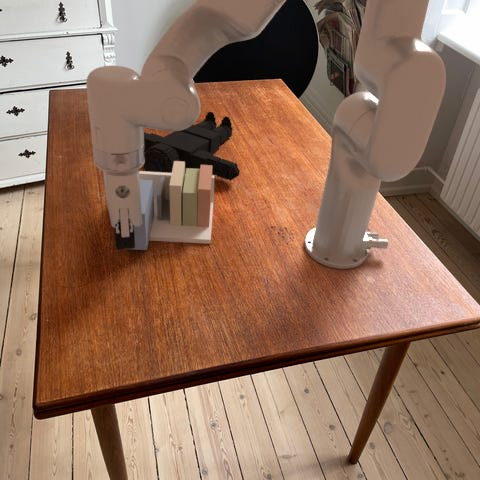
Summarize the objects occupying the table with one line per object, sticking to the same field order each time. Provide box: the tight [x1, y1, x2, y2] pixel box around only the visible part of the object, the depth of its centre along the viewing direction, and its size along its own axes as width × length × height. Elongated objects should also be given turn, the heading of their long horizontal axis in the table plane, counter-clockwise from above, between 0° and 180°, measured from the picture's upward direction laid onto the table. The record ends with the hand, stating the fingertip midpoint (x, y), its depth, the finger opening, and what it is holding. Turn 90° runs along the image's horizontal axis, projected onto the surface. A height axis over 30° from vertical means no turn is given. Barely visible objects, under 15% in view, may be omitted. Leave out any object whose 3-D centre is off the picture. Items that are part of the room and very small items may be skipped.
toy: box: [143, 111, 240, 181], centre depth 122 cm, size 33×8×30 cm
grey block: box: [132, 180, 154, 251], centre depth 95 cm, size 4×11×8 cm, turn 1°
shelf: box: [139, 161, 216, 245], centre depth 99 cm, size 18×14×10 cm
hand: (125, 245), depth 86 cm, fingers closed
